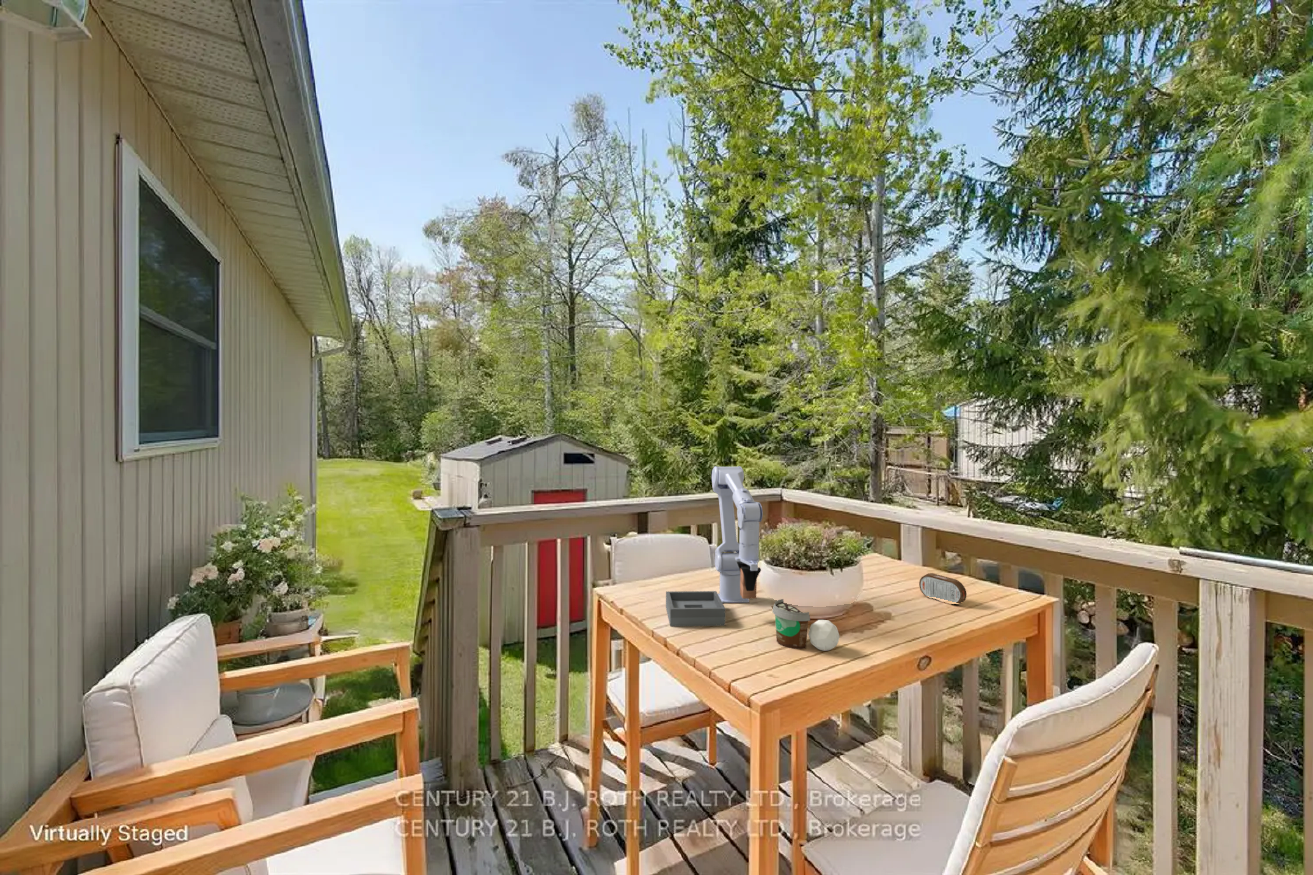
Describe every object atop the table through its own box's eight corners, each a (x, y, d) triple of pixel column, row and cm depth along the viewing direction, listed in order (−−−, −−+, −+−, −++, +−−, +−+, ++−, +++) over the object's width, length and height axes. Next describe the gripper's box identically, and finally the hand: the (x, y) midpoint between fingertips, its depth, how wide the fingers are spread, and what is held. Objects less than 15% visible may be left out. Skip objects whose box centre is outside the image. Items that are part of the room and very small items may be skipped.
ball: (818, 655, 153) (817, 625, 157) (846, 653, 148) (843, 622, 152) (803, 648, 149) (802, 617, 153) (831, 645, 144) (829, 613, 148)
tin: (966, 607, 185) (967, 581, 184) (961, 608, 183) (962, 582, 182) (922, 594, 197) (923, 570, 197) (917, 595, 195) (918, 571, 195)
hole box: (715, 606, 182) (716, 591, 182) (725, 625, 166) (725, 608, 166) (665, 607, 181) (666, 591, 181) (670, 626, 165) (670, 609, 165)
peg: (753, 593, 174) (753, 567, 173) (756, 598, 170) (756, 571, 169) (740, 594, 173) (740, 568, 173) (742, 598, 169) (743, 571, 169)
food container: (762, 636, 159) (763, 600, 158) (781, 633, 161) (782, 598, 160) (789, 654, 147) (790, 615, 147) (809, 650, 150) (810, 612, 149)
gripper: (730, 537, 178) (730, 580, 178) (741, 549, 163) (740, 596, 164) (753, 537, 178) (752, 580, 179) (765, 548, 164) (764, 595, 164)
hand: (748, 587), depth 171 cm, fingers closed on peg, 4 cm apart
